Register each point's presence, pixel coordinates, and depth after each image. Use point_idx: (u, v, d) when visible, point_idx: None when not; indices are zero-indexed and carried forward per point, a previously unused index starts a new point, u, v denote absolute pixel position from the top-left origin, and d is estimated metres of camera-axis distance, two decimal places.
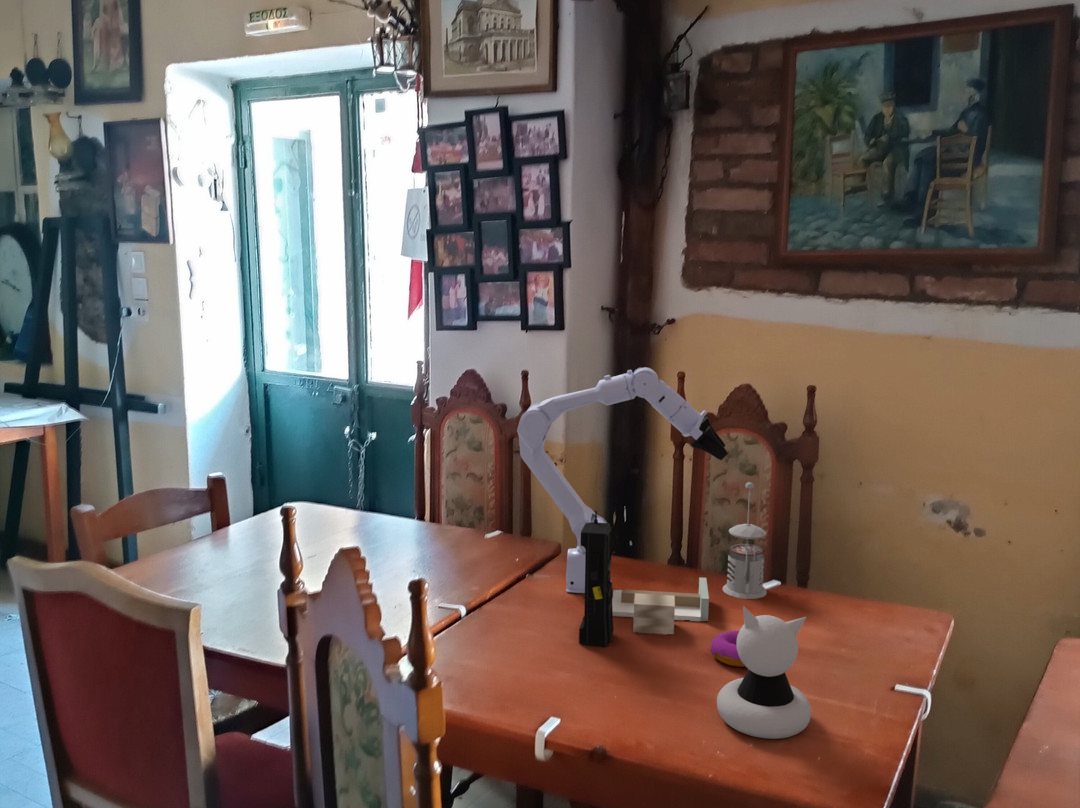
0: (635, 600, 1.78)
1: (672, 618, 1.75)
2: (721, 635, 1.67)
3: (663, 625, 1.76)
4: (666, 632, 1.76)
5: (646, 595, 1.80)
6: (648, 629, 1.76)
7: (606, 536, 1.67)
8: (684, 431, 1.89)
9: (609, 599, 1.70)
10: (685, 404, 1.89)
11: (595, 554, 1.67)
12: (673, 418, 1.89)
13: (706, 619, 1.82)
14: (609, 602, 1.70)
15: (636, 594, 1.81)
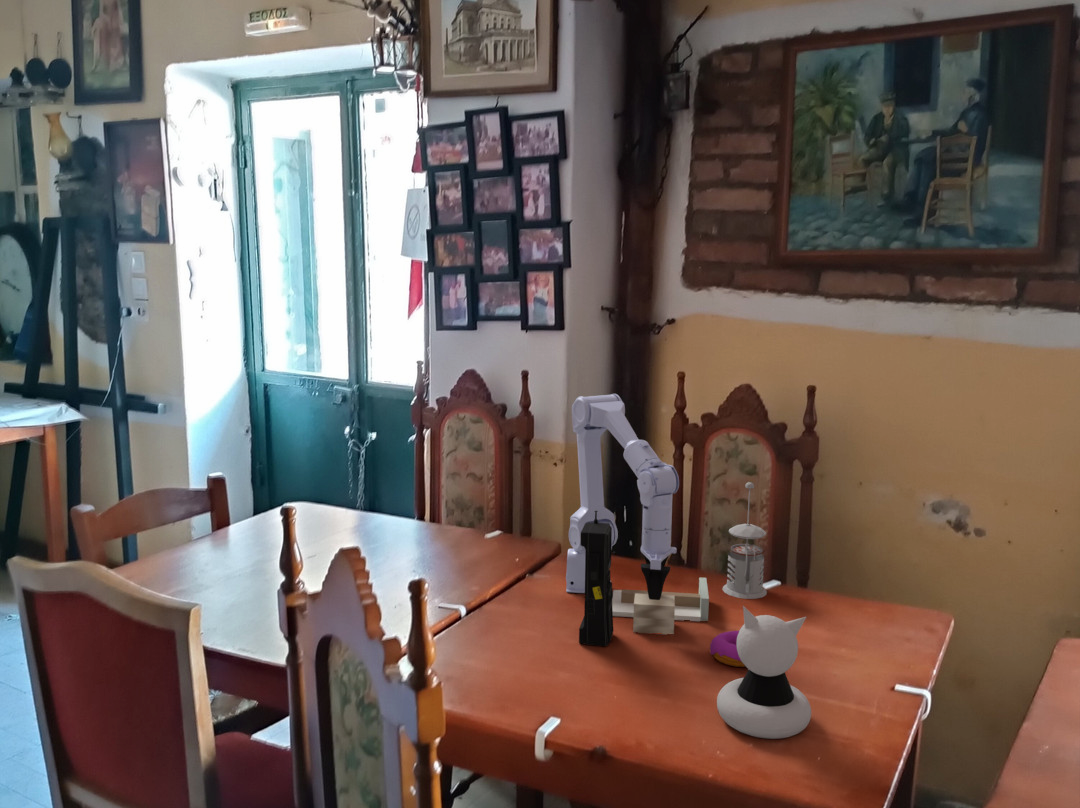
0: (635, 600, 1.78)
1: (672, 618, 1.75)
2: (720, 635, 1.67)
3: (663, 625, 1.76)
4: (666, 632, 1.76)
5: (646, 595, 1.80)
6: (648, 629, 1.76)
7: (606, 536, 1.67)
8: (646, 549, 1.75)
9: (609, 599, 1.70)
10: (669, 530, 1.74)
11: (595, 554, 1.67)
12: (649, 531, 1.73)
13: (706, 619, 1.82)
14: (609, 602, 1.70)
15: (636, 594, 1.81)
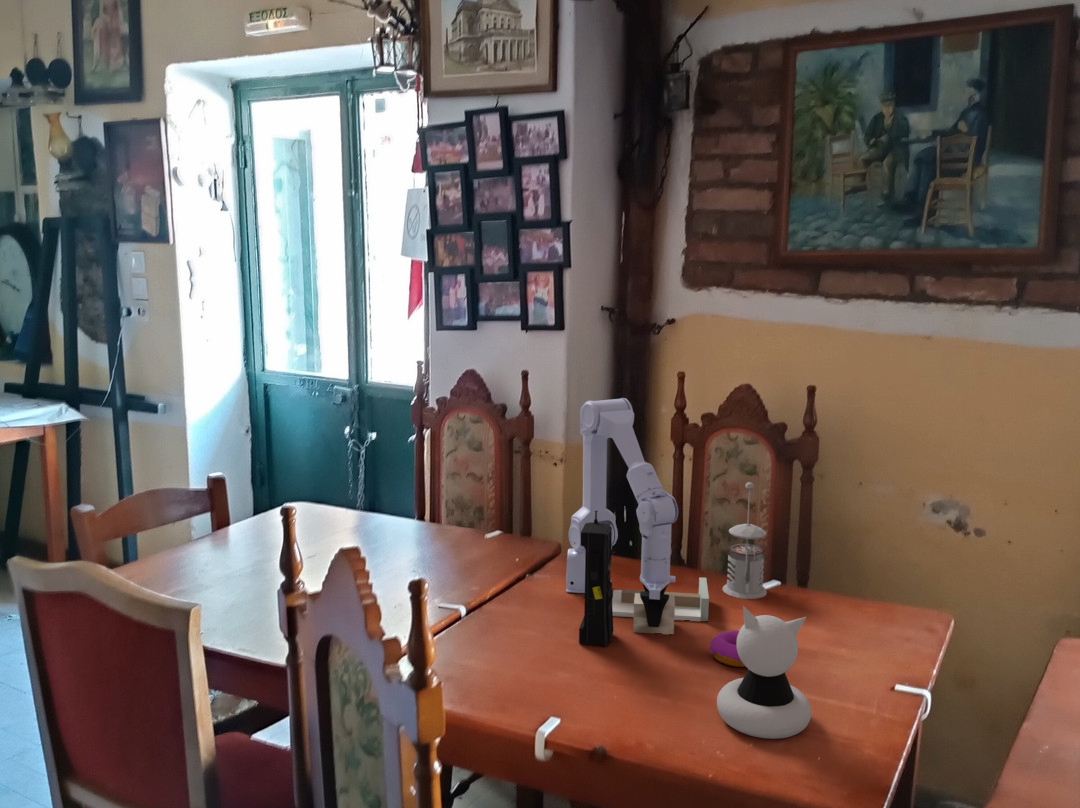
0: (635, 599, 1.78)
1: (672, 618, 1.75)
2: (720, 635, 1.67)
3: (663, 625, 1.76)
4: (666, 632, 1.76)
5: None
6: (648, 629, 1.76)
7: (606, 536, 1.67)
8: (645, 578, 1.76)
9: (609, 599, 1.70)
10: (668, 560, 1.75)
11: (595, 554, 1.67)
12: (648, 561, 1.74)
13: (706, 619, 1.82)
14: (609, 602, 1.70)
15: (636, 594, 1.81)
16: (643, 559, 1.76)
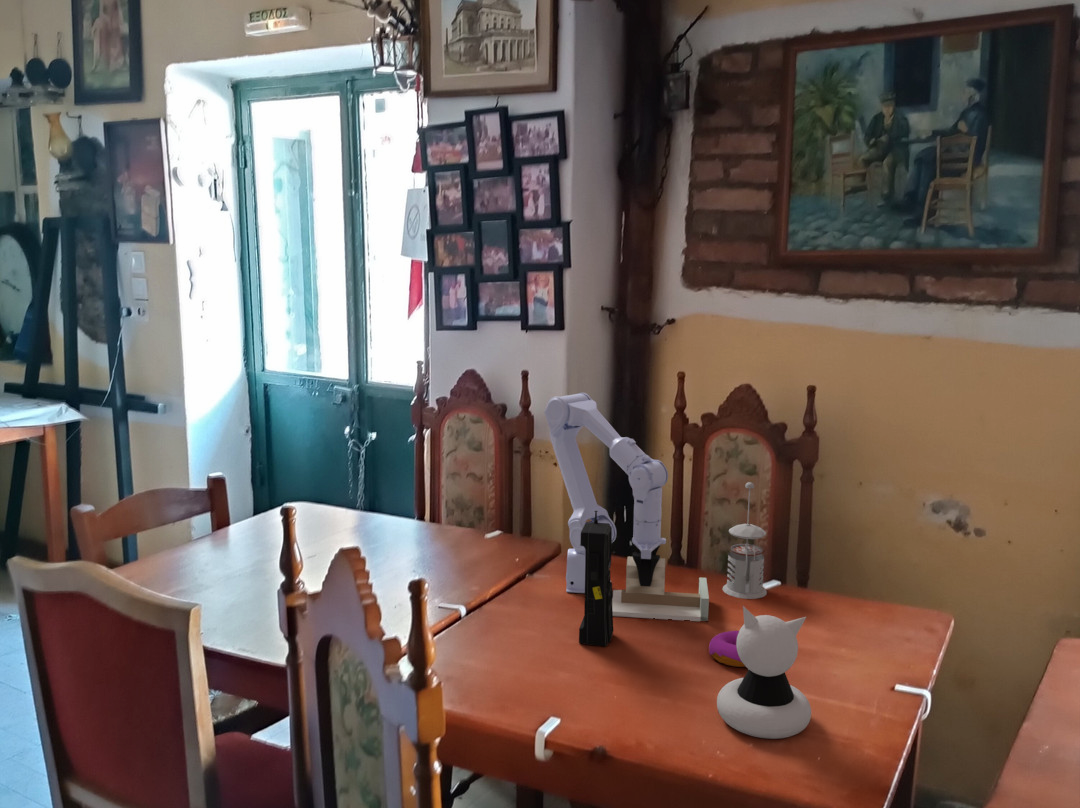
0: (627, 562, 1.88)
1: (663, 579, 1.85)
2: (719, 635, 1.67)
3: (654, 585, 1.86)
4: (657, 592, 1.86)
5: None
6: (640, 589, 1.86)
7: (606, 536, 1.67)
8: (637, 539, 1.85)
9: (609, 599, 1.70)
10: (658, 522, 1.85)
11: (595, 554, 1.67)
12: (640, 523, 1.84)
13: (706, 619, 1.82)
14: (609, 602, 1.70)
15: (629, 557, 1.91)
16: (635, 522, 1.85)
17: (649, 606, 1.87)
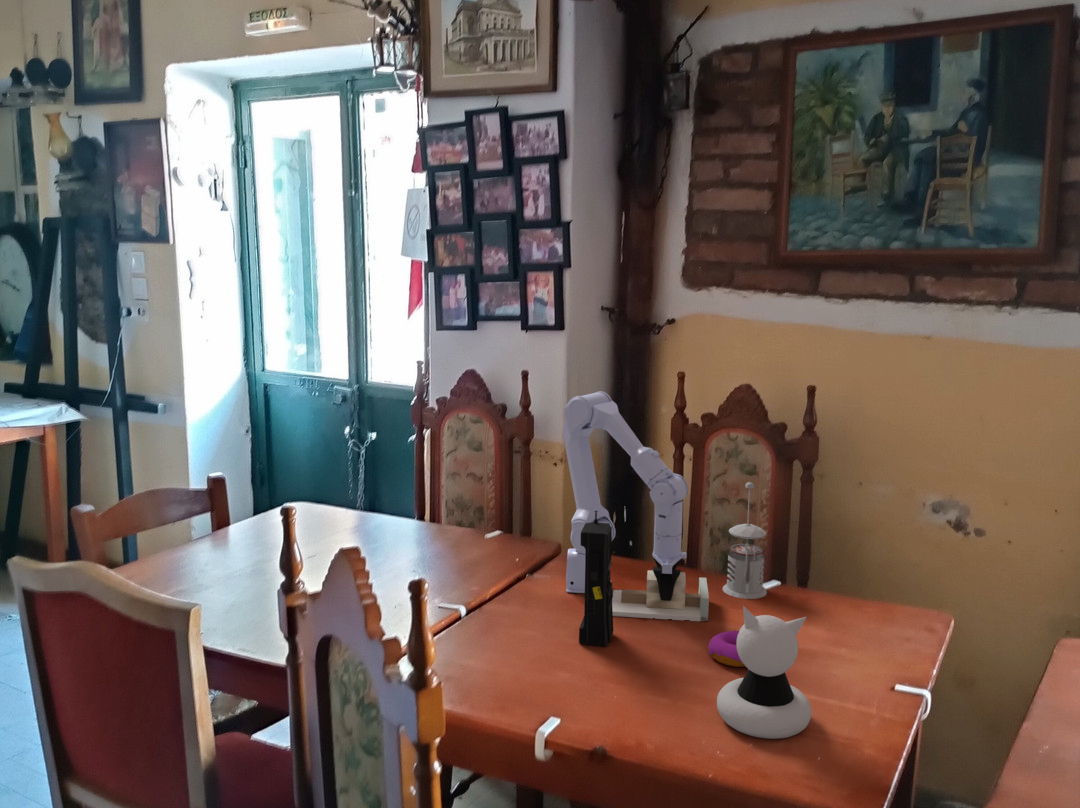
0: (648, 576, 1.88)
1: (683, 593, 1.85)
2: (719, 635, 1.67)
3: (675, 600, 1.86)
4: (677, 606, 1.86)
5: None
6: (660, 603, 1.86)
7: (606, 536, 1.67)
8: (657, 554, 1.85)
9: (609, 599, 1.70)
10: (679, 537, 1.85)
11: (595, 554, 1.67)
12: (660, 538, 1.84)
13: (706, 619, 1.82)
14: (609, 602, 1.70)
15: (649, 571, 1.91)
16: (656, 536, 1.85)
17: None
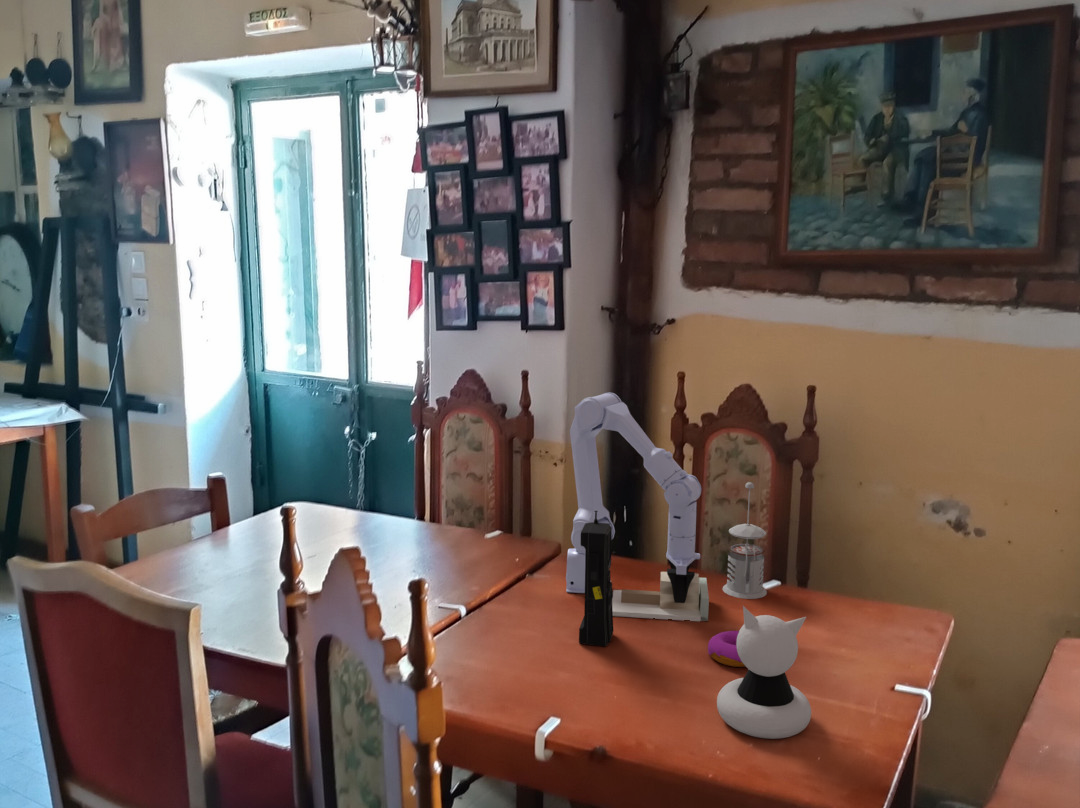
0: (661, 577, 1.87)
1: (697, 594, 1.85)
2: (718, 635, 1.67)
3: (688, 601, 1.85)
4: (691, 608, 1.85)
5: None
6: (674, 605, 1.86)
7: (606, 536, 1.67)
8: (671, 555, 1.85)
9: (609, 599, 1.70)
10: (693, 538, 1.84)
11: (595, 554, 1.67)
12: (674, 538, 1.84)
13: (706, 619, 1.82)
14: (609, 602, 1.70)
15: (662, 572, 1.90)
16: (670, 537, 1.85)
17: (649, 606, 1.87)
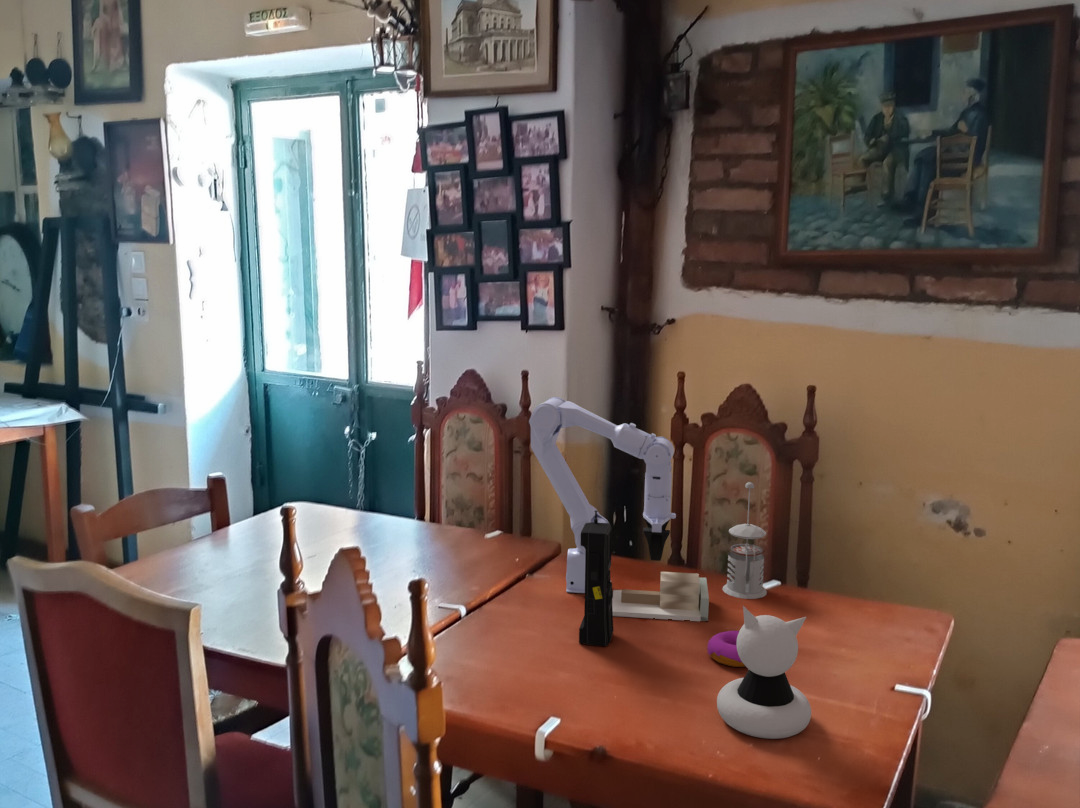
0: (661, 577, 1.87)
1: (697, 594, 1.85)
2: (718, 635, 1.67)
3: (688, 601, 1.85)
4: (691, 608, 1.85)
5: (671, 573, 1.90)
6: (674, 605, 1.86)
7: (606, 536, 1.67)
8: (648, 514, 1.91)
9: (609, 599, 1.70)
10: (669, 497, 1.91)
11: (595, 554, 1.67)
12: (651, 498, 1.90)
13: (706, 619, 1.82)
14: (609, 602, 1.70)
15: (662, 572, 1.90)
16: (646, 497, 1.91)
17: (649, 606, 1.87)
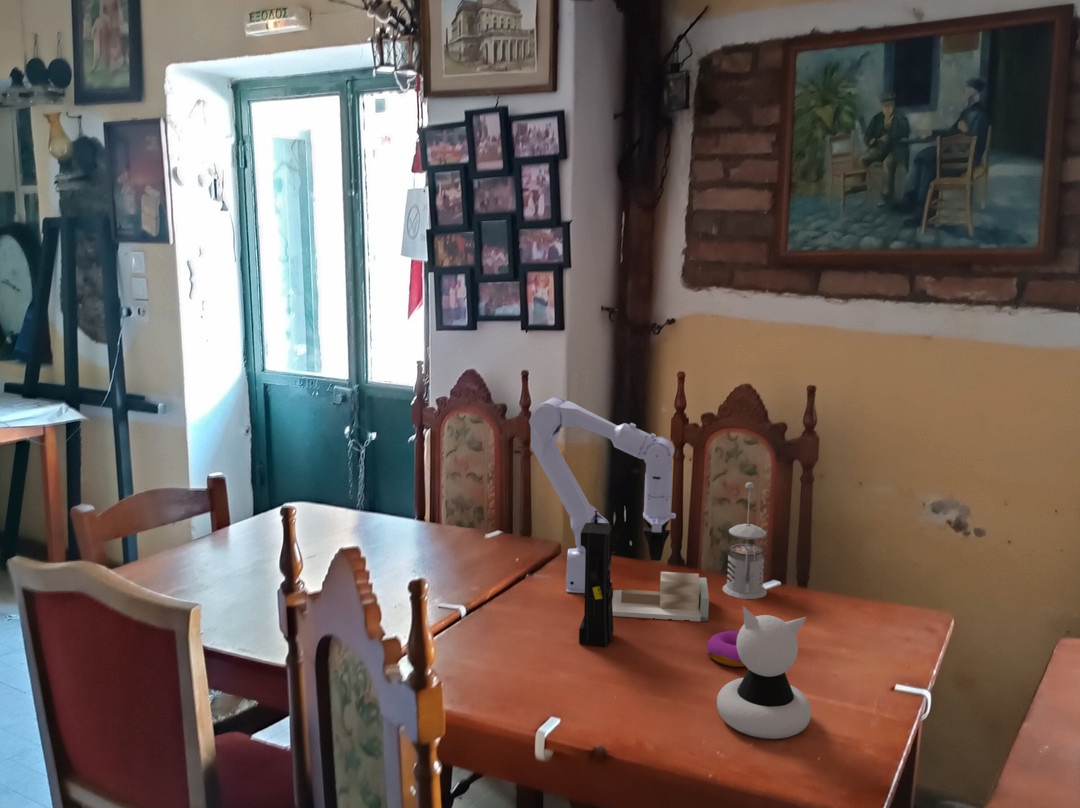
0: (661, 577, 1.87)
1: (697, 594, 1.85)
2: (717, 635, 1.67)
3: (688, 601, 1.85)
4: (691, 608, 1.85)
5: (671, 573, 1.90)
6: (674, 605, 1.86)
7: (606, 536, 1.67)
8: (648, 514, 1.91)
9: (609, 599, 1.70)
10: (669, 497, 1.91)
11: (595, 554, 1.67)
12: (651, 498, 1.90)
13: (706, 619, 1.82)
14: (609, 602, 1.70)
15: (662, 572, 1.90)
16: (646, 497, 1.91)
17: (649, 606, 1.87)
